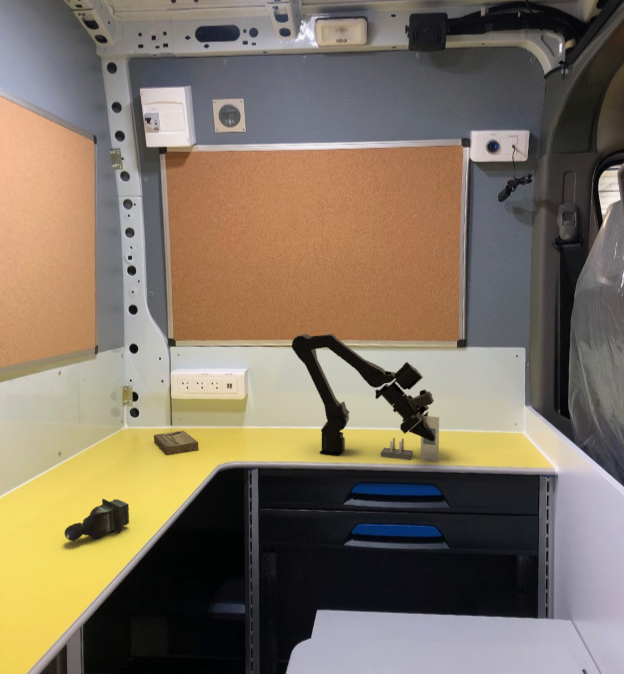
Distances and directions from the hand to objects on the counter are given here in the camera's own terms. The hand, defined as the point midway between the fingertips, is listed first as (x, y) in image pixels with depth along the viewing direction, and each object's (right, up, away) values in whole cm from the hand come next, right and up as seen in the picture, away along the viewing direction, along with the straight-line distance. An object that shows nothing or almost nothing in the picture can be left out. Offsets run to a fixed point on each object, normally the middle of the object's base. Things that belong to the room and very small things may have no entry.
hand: (434, 438), depth 163 cm
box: (-82, -6, +16) cm, 84 cm away
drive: (-1, -7, +1) cm, 7 cm away
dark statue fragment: (-82, -12, -48) cm, 96 cm away
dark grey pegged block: (-11, -6, +5) cm, 13 cm away
